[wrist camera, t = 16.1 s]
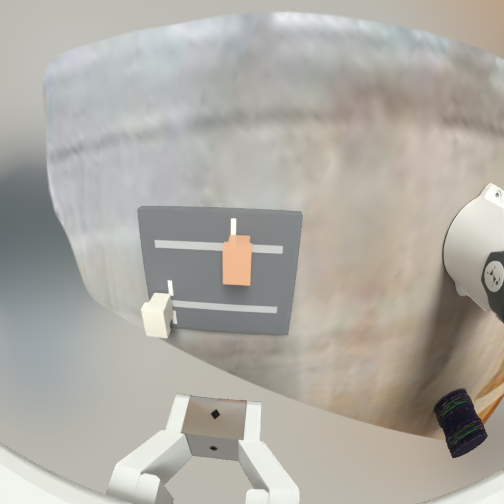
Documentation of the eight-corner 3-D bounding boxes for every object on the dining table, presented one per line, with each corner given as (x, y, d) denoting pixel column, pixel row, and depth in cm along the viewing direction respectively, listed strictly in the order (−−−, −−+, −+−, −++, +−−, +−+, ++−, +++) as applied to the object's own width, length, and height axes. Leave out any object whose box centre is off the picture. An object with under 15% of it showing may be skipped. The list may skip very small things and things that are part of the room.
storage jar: (426, 415, 56) (443, 461, 42) (445, 390, 52) (467, 439, 38) (454, 409, 56) (471, 452, 43) (473, 386, 52) (495, 429, 38)
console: (301, 211, 36) (302, 215, 34) (287, 328, 43) (287, 335, 42) (141, 205, 36) (137, 209, 34) (156, 319, 44) (153, 325, 42)
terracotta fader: (253, 232, 35) (251, 249, 31) (251, 265, 37) (250, 285, 33) (227, 231, 35) (222, 247, 31) (227, 264, 37) (222, 284, 33)
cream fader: (172, 291, 39) (163, 311, 35) (175, 317, 41) (167, 338, 37) (151, 289, 39) (140, 309, 35) (156, 315, 41) (146, 335, 37)
